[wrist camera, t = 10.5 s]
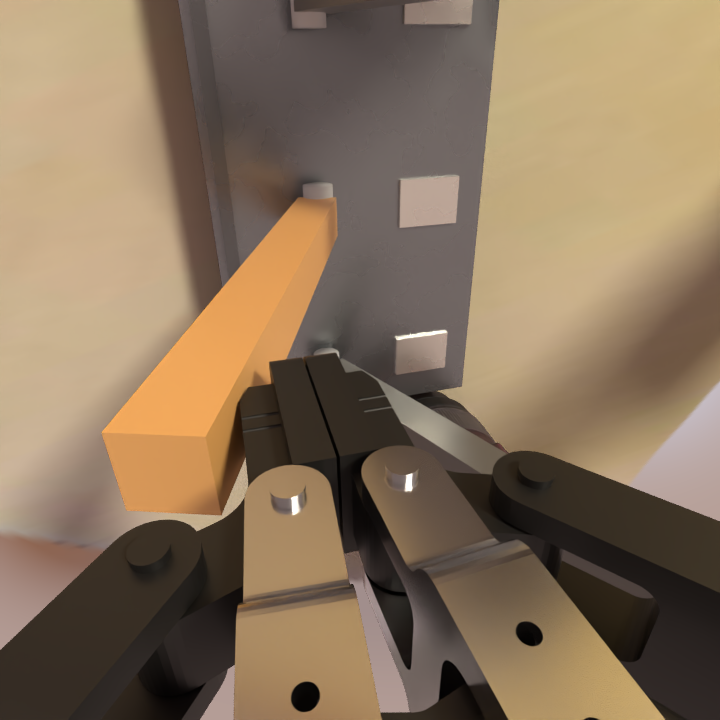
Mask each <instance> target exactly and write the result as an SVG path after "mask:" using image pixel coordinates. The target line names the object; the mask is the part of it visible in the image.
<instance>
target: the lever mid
mask: <svg viewBox="0 0 720 720" xmlns="http://www.w3.org/2000/svg"><path fill="white" fill-rule="evenodd" d="M337 236H338V231H337V203H336V197H333V185H332V184H331V183H327V182H312V183H306V184H304V185H303V197H298V198H297V199H296V201H295V202H294V203H293V204H292V205H291V207H290V208H289V209H288V210H287V211H286V212H285V214H284V215H283V216H282V217H281V218H280V220H279V221H278V222H277V223H276V224H275V226H274V227H273V228H272V229H271V230H270V232H269V233H268V234H267V235H266V236H265V238H264V239H263V240H262V241H261V242H260V244H259V245H258V246H257V247H256V248H255V250H254V251H253V252H252V253H251V254H250V256H249V257H248V258H247V259H246V260H245V262H244V263H243V264H242V265H241V266H240V267H239V269H238V270H237V271H236V272H235V273H234V275H233V276H232V277H231V278H230V279H229V281H228V282H227V283H226V284H225V285H224V287H223V288H222V289H221V290H220V291H219V293H218V294H217V295H216V296H215V297H214V299H213V300H212V301H211V302H210V303H209V305H208V306H207V307H206V308H205V309H204V311H203V312H202V313H201V314H200V315H199V316H198V318H197V319H196V320H195V321H194V322H193V324H192V325H191V326H190V327H189V328H188V330H187V331H186V332H185V333H184V334H183V336H182V337H181V338H180V339H179V340H178V342H177V343H176V344H175V345H174V346H173V348H172V349H171V350H170V351H169V352H168V354H167V355H166V356H165V357H164V358H163V360H162V361H161V362H160V363H159V364H158V366H157V367H156V368H155V369H154V370H153V371H152V373H151V374H150V375H149V376H148V377H147V379H146V380H145V381H144V382H143V383H142V385H141V386H140V387H139V388H138V389H137V391H136V392H135V393H134V394H133V395H132V397H131V398H130V399H129V400H128V401H127V403H126V404H125V405H124V406H123V407H122V409H121V410H120V411H119V412H118V413H117V415H116V416H115V417H114V418H113V419H112V420H111V422H110V423H109V424H108V425H107V426H106V428H105V429H104V430H103V431H102V432H101V433H102V436H103V439H104V442H105V445H106V448H107V451H108V455H109V458H110V461H111V464H112V467H113V470H114V473H115V476H116V479H117V482H118V486H119V489H120V492H121V495H122V498H123V501H124V504H125V507H126V510H128V511H147V512H167V513H186V514H205V515H222V512H223V510H224V508H225V505H226V503H227V500H228V498H229V496H230V493H231V491H232V488H233V486H234V484H235V481H236V479H237V476H238V474H239V472H240V469H241V467H242V464H243V462H244V460H245V457H246V456H245V447H244V438H243V429H242V419H241V410H240V400H241V399H242V397H243V395H244V393H245V392H246V390H247V388H248V387H253V386H260V385H267V384H271V379H270V370H269V362H270V361H277V360H285V359H287V356H288V354H289V351H290V349H291V347H292V344H293V342H294V339H295V337H296V335H297V332H298V330H299V327H300V325H301V323H302V320H303V318H304V315H305V313H306V311H307V308H308V306H309V303H310V301H311V299H312V296H313V294H314V291H315V289H316V287H317V284H318V282H319V279H320V277H321V274H322V272H323V270H324V267H325V265H326V262H327V260H328V258H329V255H330V253H331V250H332V248H333V246H334V244H335V241H336V238H337Z"/></svg>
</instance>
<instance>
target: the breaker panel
mask: <svg viewBox="0 0 720 720" xmlns="http://www.w3.org/2000/svg"><path fill="white" fill-rule="evenodd" d="M178 3H179V9H180V16H181V22H182V29H183V35H184V42H185V48H186V55H187V61H188V68H189V74H190V81H191V87H192V94H193V100H194V107H195V113H196V120H197V126H198V133H199V139H200V146H201V152H202V159H203V165H204V172H205V178H206V185H207V191H208V198H209V204H210V211H211V217H212V224H213V230H214V237H215V243H216V250H217V256H218V263H219V269H220V276H221V282H222V288H223V287H224V285H225V284H226V283H227V282H228V281H229V279H230V278H231V277H232V276H233V275H234V273H235V272H236V271H237V270H238V269H239V267H240V266H241V265H242V264H243V263H244V262H245V260H246V259H247V258H248V257H249V256H250V254H251V253H252V252H253V251H254V250H255V248H256V247H257V246H258V245H259V244H260V242H261V241H262V240H263V239H264V238H265V236H266V235H267V234H268V233H269V232H270V230H271V229H272V228H273V227H274V226H275V224H276V223H277V222H278V221H279V220H280V218H281V217H282V216H283V215H284V214H285V212H286V211H287V210H288V209H289V208H290V207H291V205H292V204H293V203H294V202H295V201H296V199H297V198H298V197H303V185H304V184H306V183H312V182H327V183H331V184H332V185H333V197H336V203H337V231H338V236H337V238H336V241H335V244H334V246H333V248H332V250H331V253H330V255H329V258H328V260H327V262H326V265H325V267H324V270H323V272H322V274H321V277H320V279H319V282H318V284H317V287H316V289H315V291H314V294H313V296H312V299H311V301H310V303H309V306H308V308H307V311H306V313H305V315H304V318H303V320H302V323H301V325H300V327H299V330H298V332H297V335H296V337H295V339H294V342H293V344H292V347H291V349H290V351H289V354H288V356H287V359H292V358H299V357H302V359H303V357H305V356H312V355H314V352H315V351H316V350H318V349H321V348H333V349H336V350H338V352H339V359H342V358H343V359H345V360H347V361H348V362H350V363H352V364H354V365H355V366H357V367H359V368H360V369H362V370H364V371H366V372H367V373H369V374H371V375H373V376H374V377H376V378H378V379H379V380H381V381H383V382H385V383H386V384H388V385H390V386H391V387H393V388H395V389H397V390H398V391H400V392H402V393H403V394H405V395H407V396H408V395H414V394H420V393H426V392H432V391H438V390H444V389H450V388H456V387H462V378H463V368H464V358H465V348H466V337H467V327H468V317H469V307H470V296H471V286H472V276H473V265H474V255H475V245H476V235H477V224H478V214H479V204H480V194H481V183H482V173H483V163H484V152H485V142H486V132H487V122H488V111H489V101H490V91H491V81H492V70H493V60H494V50H495V39H496V29H497V19H498V9H499V0H434V1H427V2H419V3H411V4H403V5H395V6H387V7H380V8H372V9H364V10H356V11H348V12H340V13H332V14H327V13H326V28H323V29H293V28H292V18H291V3H290V0H178Z"/></svg>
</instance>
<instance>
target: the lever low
mask: <svg viewBox="0 0 720 720" xmlns="http://www.w3.org/2000/svg"><path fill="white" fill-rule="evenodd" d="M427 1H434V0H290V3H291V18H292V28H293V29H323V28H326V13H327V14H332V13H340V12H348V11H356V10H364V9H372V8H380V7H387V6H395V5H403V4H411V3H419V2H427Z"/></svg>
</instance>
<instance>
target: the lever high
mask: <svg viewBox="0 0 720 720" xmlns="http://www.w3.org/2000/svg"><path fill="white" fill-rule="evenodd" d="M334 352H336V353H337V355H338V357H339V352H338V350H336V349H333V348H321V349H318V350H316V351H315V352H314V355H320V354H327V353H334ZM340 361H341V363H342V366H343V368H344V370H345V372H346V373H347V372H354V371H361V370H362V369H360V368H359V367H357V366H355V365H354V364H352V363H350V362H348V361H347V360H345V359H343V358H342V359H340ZM362 371H364V370H362ZM364 372H365V373H367V372H366V371H364ZM367 374H368V375H370V376H371V377H373V378H374V379H376V380H377V381H378V382H379V384H380V386H381V388H382V390H383V391H384V393H385V397H387V398H388V400H389V402H390V404H391V407H392V408H393V409H394V411H395V413H396V414H397V416H398V418H399V420H400V422H401V423H402V425H403V427H404V429H405V430H406V432H407V434H408V436H409V438H410V439H411V441H412V443H413V445H414V446H415V447H416V448H419V449H422V450H424V451H426V452H428V453H430V454H431V455H433V456H434V457H435V458H436V459H437V460H438V461H439V462H440V464H441V465H442V467H443V468H444V469H445V470H448V471H453V472H459V473H475V474H492V471H493V467H494V465H495V463H496V461H497V460H498V459H499V458H501V457H502V456H504V455H506V454H507V453H505V452H503V451H502V450H500V449H498V448H496V447H495V446H493V445H491V444H490V443H488V442H486V441H484V440H483V439H481V438H479V437H478V436H476V435H474V434H472V433H471V432H469V431H467V430H465V429H464V428H462V427H460V426H459V425H457V424H455V423H453V422H452V421H450V420H448V419H447V418H445V417H443V416H441V415H440V414H438V413H436V412H434V411H433V410H431V409H429V408H428V407H426V406H424V405H422V404H421V403H419V402H417V401H416V400H414V399H412V398H410V397H409V396H407V395H405V394H403V393H402V392H400V391H398V390H397V389H395V388H393V387H391V386H390V385H388V384H386V383H385V382H383V381H381V380H379V379H378V378H376V377H374V376H373V375H371V374H369V373H367ZM562 561H564V562H566V563H568V564H570V565H572V566H574V567H576V568H578V569H580V570H582V571H585V572H587V573H589V574H591V575H593V576H595V577H597V578H599V579H601V580H603V581H605V582H607V583H609V584H611V585H613V586H615V587H617V588H619V589H621V590H623V591H625V592H628V593H630V594H632V595H634V596H637V597H640V598H653V596H652V595H651V594H650V593H649V592H648V591H647V590H645V589H644V588H642V587H640V586H639V585H637V584H635V583H633V582H630V581H628V580H626V579H624V578H622V577H620V576H618V575H616V574H614V573H612V572H609V571H607V570H605V569H603V568H601V567H599V566H597V565H595V564H593V563H591V562H589V561H586V560H584V559H582V558H580V557H578V556H576V555H574V554H572V553H570V552H568V551H565V550H564V554H563V558H562Z"/></svg>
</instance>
